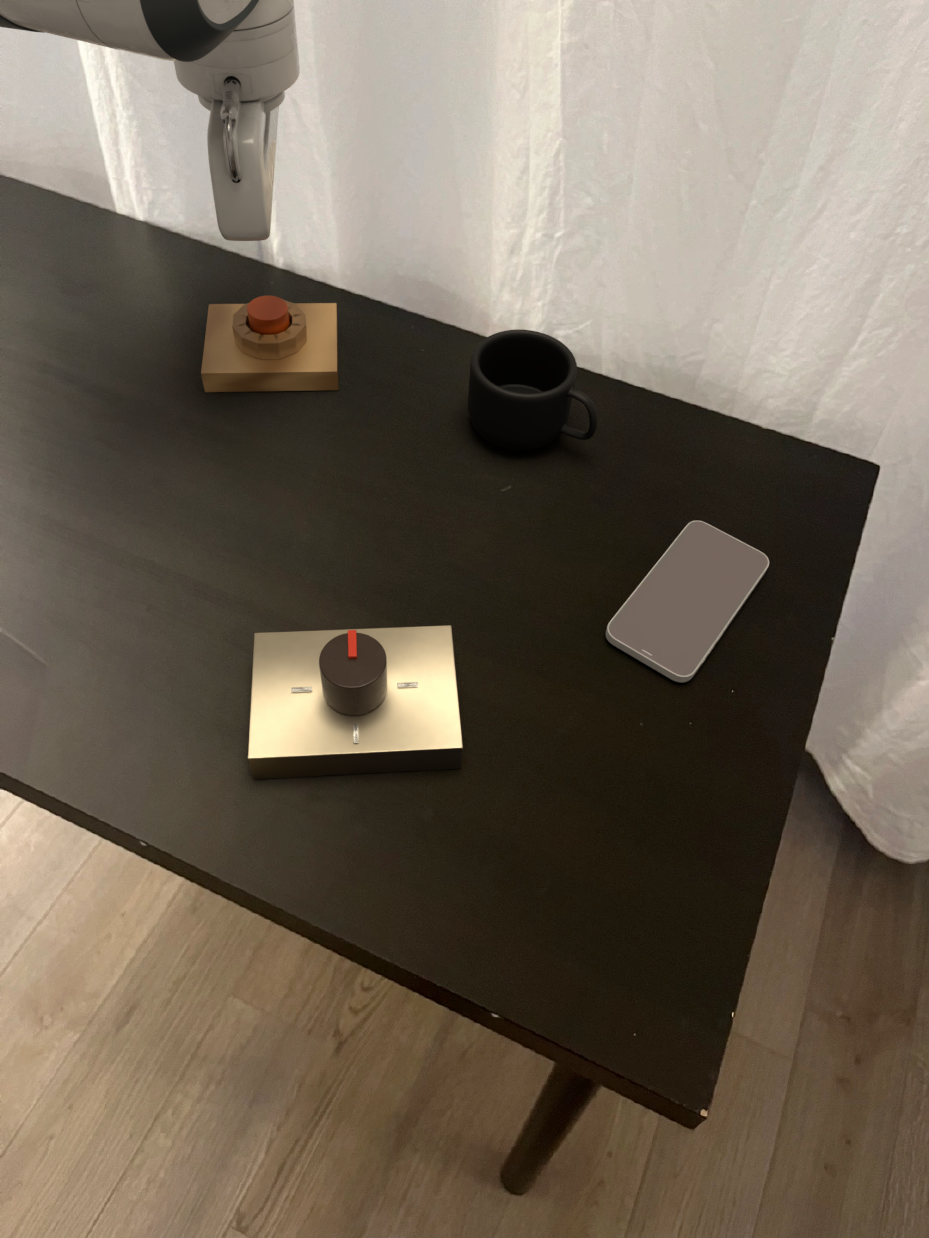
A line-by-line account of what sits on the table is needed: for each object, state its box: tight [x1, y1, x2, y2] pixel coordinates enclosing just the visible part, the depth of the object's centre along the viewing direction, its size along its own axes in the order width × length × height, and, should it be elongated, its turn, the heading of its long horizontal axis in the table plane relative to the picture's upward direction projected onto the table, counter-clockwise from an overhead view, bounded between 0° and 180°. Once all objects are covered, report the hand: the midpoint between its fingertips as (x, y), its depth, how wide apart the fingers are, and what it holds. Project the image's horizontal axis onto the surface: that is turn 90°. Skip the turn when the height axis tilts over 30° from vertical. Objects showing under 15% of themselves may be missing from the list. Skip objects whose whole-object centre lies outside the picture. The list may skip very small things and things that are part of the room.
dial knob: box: [319, 630, 387, 715], centre depth 64 cm, size 4×4×4 cm
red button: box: [247, 295, 290, 335], centre depth 86 cm, size 4×4×2 cm
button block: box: [200, 299, 339, 393], centre depth 88 cm, size 12×10×4 cm
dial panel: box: [247, 624, 464, 780], centre depth 66 cm, size 14×10×3 cm
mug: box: [467, 329, 598, 451], centre depth 83 cm, size 12×9×7 cm
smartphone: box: [605, 520, 770, 683], centre depth 75 cm, size 7×1×15 cm
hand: (260, 227), depth 79 cm, fingers closed
